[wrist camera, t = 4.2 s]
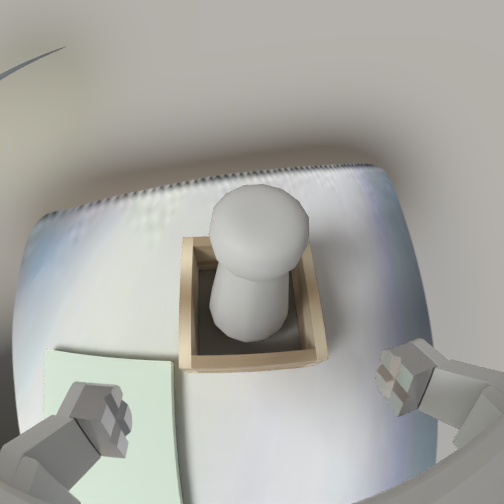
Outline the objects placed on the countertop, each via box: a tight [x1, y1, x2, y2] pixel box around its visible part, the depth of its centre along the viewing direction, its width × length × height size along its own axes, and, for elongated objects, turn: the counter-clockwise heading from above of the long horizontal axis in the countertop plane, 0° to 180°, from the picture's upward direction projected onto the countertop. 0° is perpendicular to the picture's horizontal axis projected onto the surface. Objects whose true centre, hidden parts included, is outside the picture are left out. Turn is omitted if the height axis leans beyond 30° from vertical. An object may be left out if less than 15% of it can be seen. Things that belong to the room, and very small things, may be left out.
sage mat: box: [43, 349, 183, 504], centre depth 15 cm, size 14×12×1 cm
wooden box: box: [179, 237, 329, 373], centre depth 20 cm, size 10×10×4 cm
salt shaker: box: [209, 184, 309, 343], centre depth 17 cm, size 6×6×13 cm
